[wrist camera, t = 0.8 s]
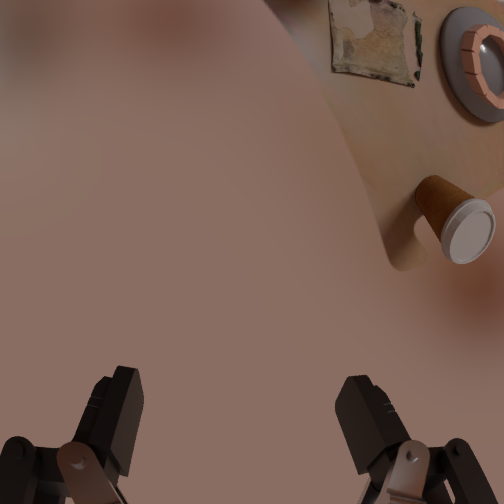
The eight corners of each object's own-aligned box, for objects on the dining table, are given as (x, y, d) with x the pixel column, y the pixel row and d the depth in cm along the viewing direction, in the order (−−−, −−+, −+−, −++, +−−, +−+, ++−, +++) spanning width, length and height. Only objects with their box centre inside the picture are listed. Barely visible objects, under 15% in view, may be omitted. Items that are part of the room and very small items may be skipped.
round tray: (425, -3, 17) (442, -6, 14) (505, 20, 14) (521, 21, 11) (448, 121, 28) (464, 128, 25) (517, 120, 25) (532, 127, 22)
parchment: (418, 89, 26) (421, 90, 26) (327, 72, 27) (329, 72, 26) (419, 10, 19) (423, 10, 18) (326, -15, 19) (328, -17, 18)
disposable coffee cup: (400, 180, 35) (443, 225, 25) (447, 156, 32) (497, 193, 22) (413, 228, 40) (448, 277, 30) (456, 204, 36) (496, 247, 27)
